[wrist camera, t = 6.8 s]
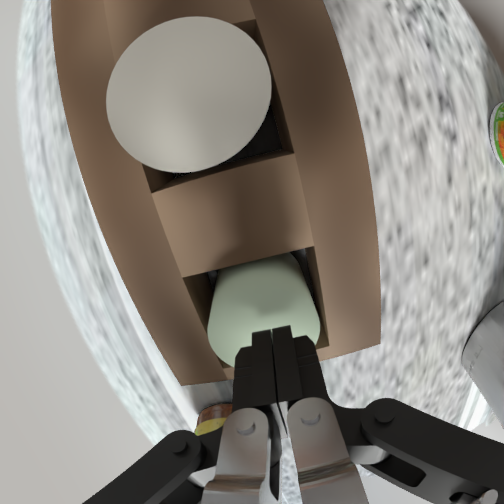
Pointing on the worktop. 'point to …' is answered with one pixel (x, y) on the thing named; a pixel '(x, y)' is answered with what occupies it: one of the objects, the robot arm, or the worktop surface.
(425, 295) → the worktop surface
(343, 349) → the panel
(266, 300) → the button sage
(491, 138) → the supplement bottle
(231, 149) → the button cream
